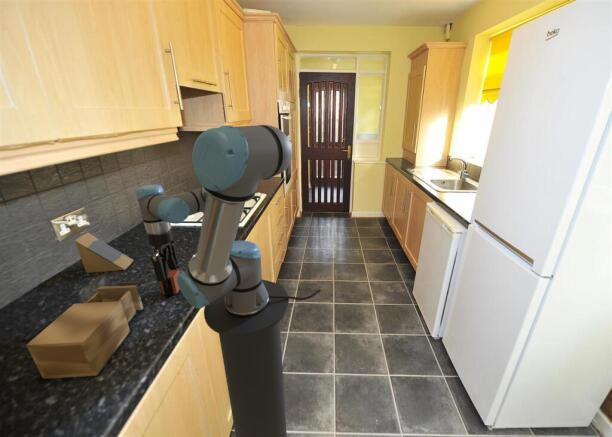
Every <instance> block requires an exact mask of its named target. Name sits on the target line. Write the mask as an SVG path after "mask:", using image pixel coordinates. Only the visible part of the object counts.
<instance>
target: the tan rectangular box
mask: <svg viewBox="0 0 612 437" xmlns="http://www.w3.org/2000/svg"><path fill="white" fill-rule="evenodd" d="M130 332H131V329H130V326H129V322H127V319H126V316H125V313H124V310H123V306H122V303H121V301H119V302H98V303H86V302H78V303H73V304H72V305H71V306H70V307H68V308H67V309H66V310H65V311H64V312H63V313H61V314H60V315H59V316H58V317H57V318H56V319H54V321H52V322H51V323H50V324H48V326H47V327H45V328H44V329H43V330H42V331H41V332H40V333H38V334H37V335H36V336H35V337H33V339H31V340H30V341H29V342H28V343H27V344H26V348H27V350H28V352H29V354H30V356H31V358H32V359H33V362H34V363H35V364H34V365H35V366H36V368H37V370H38V372H39V374H40V376H41V377H42V379H43V380H46V379H48V380H49V379H62V378H63V379H64V378H81V377H96V376H98V375H99V374H100V372H101V371H102V370H103V368H104V367H105V366H106V365H107V363H108V362H109V360H110V359H111V358H112V356H113V355H114V353H116V351H117V350H118V348H119V347H120V346H121V344H122V343H123V341H124V340H125V339H126V337H127V336H128V335H129V334H130Z"/></svg>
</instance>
